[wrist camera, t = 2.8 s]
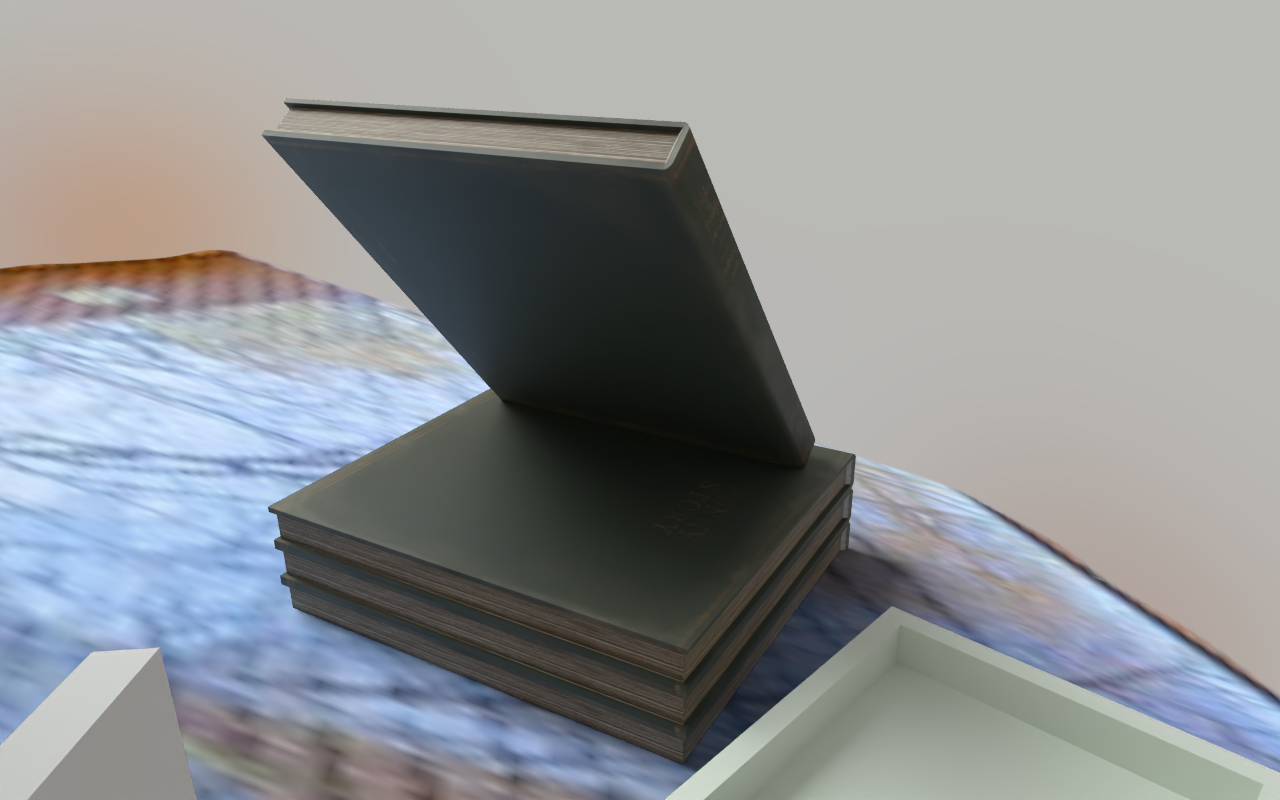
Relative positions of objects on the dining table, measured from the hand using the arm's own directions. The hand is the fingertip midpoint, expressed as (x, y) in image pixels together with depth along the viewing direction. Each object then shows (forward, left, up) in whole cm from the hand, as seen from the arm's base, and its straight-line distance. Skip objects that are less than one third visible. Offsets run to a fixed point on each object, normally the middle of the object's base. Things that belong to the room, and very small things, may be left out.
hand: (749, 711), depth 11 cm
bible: (+23, +28, -22) cm, 42 cm away
